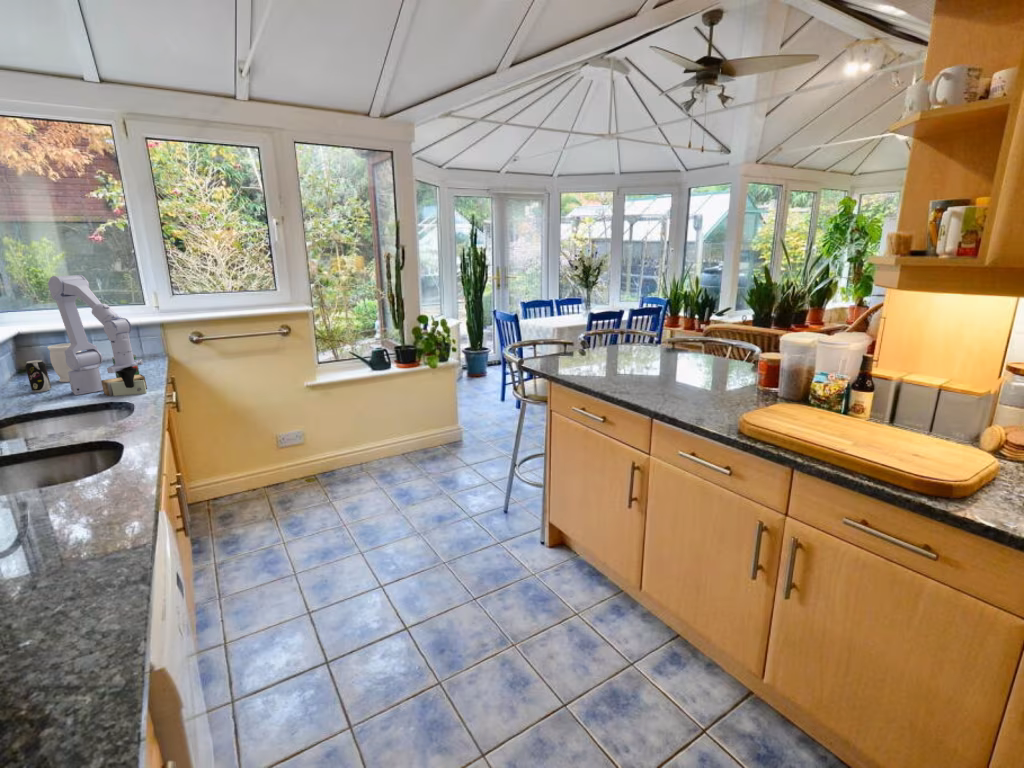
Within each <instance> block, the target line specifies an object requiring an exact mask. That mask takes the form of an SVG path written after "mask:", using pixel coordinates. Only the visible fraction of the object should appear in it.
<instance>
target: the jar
mask: <svg viewBox="0 0 1024 768" xmlns="http://www.w3.org/2000/svg"><path fill="white" fill-rule="evenodd" d="M70 345H71V343H70V342H69V343H59V344H52V345H49V346H47V350H49V358H50V363H51V366H52V368H53V370H54V372H55V374H56V375H57V376H58V378H59V379H58V381H59V382H61V383H70V381H69V376H68V371H73V370H72V369H71V368H69V367H68V365H67V363H66V355H65V350H66V349H67V348H68V347H69V346H70ZM78 352H82V351H78ZM78 352H77V353H78Z"/></svg>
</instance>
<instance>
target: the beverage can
mask: <svg viewBox="0 0 1024 768" xmlns="http://www.w3.org/2000/svg"><path fill="white" fill-rule="evenodd" d="M25 371H26V374H27V377H28V381H29V385H30V389H31V392H34V393H44V392H47V391H50V389H52V384H51V381H50V377H49V373H48V369H47V365H46V363H45V362H43V360H42V359H35V360H29V361H26V364H25Z"/></svg>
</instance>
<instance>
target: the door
mask: <svg viewBox="0 0 1024 768" xmlns="http://www.w3.org/2000/svg"><path fill="white" fill-rule="evenodd" d="M133 382H134V387H132V388H126V386H125V384H124V382H112V383H107V385H108V389H109V394H110V396H109V397H113V396H114V397H115V396H128V395H129V396H130V395H140V394H141V395H142V394H147V389H146V387H145V382H144V380H139V381H133ZM111 386H112V387H111ZM112 390H113V392H112Z"/></svg>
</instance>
